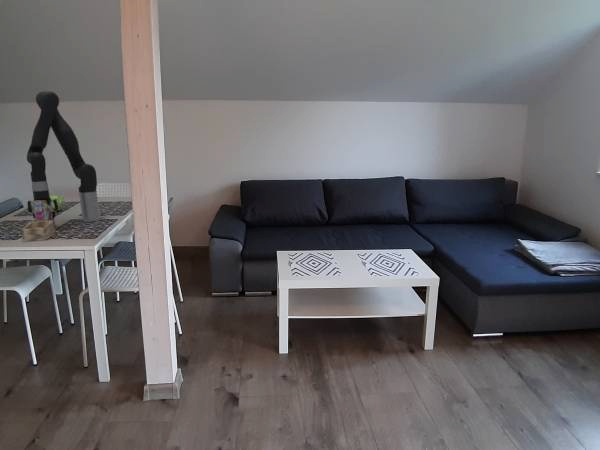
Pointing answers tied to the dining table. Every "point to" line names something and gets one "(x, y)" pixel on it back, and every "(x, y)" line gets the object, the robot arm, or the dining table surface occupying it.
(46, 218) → the candy bar box
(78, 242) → the dining table surface
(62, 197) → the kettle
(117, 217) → the dining table surface
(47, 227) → the crate
